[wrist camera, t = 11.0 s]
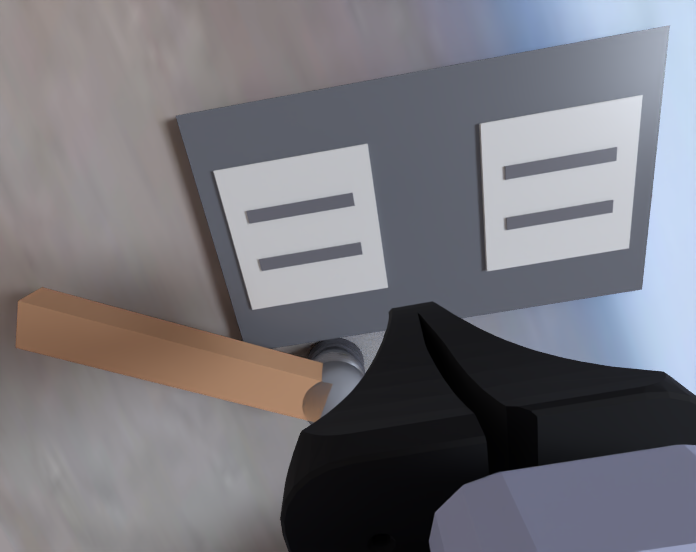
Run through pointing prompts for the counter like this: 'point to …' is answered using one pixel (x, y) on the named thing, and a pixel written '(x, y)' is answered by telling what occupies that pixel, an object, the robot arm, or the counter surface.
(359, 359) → the shiny grey curved piece
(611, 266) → the panel
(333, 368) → the bar
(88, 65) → the counter surface
